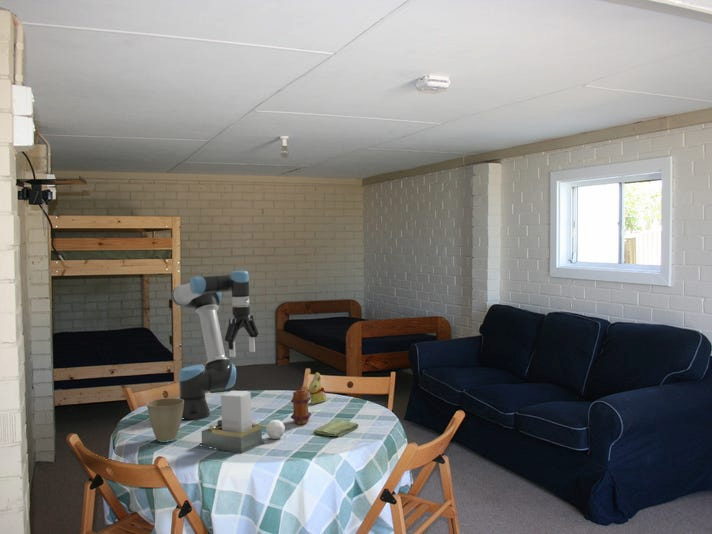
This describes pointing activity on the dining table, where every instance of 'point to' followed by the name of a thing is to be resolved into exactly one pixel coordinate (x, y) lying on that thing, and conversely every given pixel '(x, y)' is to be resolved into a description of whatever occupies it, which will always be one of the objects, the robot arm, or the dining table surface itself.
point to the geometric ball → (275, 429)
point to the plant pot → (165, 417)
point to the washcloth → (336, 428)
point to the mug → (301, 406)
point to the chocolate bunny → (316, 390)
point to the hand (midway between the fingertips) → (242, 354)
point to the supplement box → (236, 411)
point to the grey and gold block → (232, 438)
